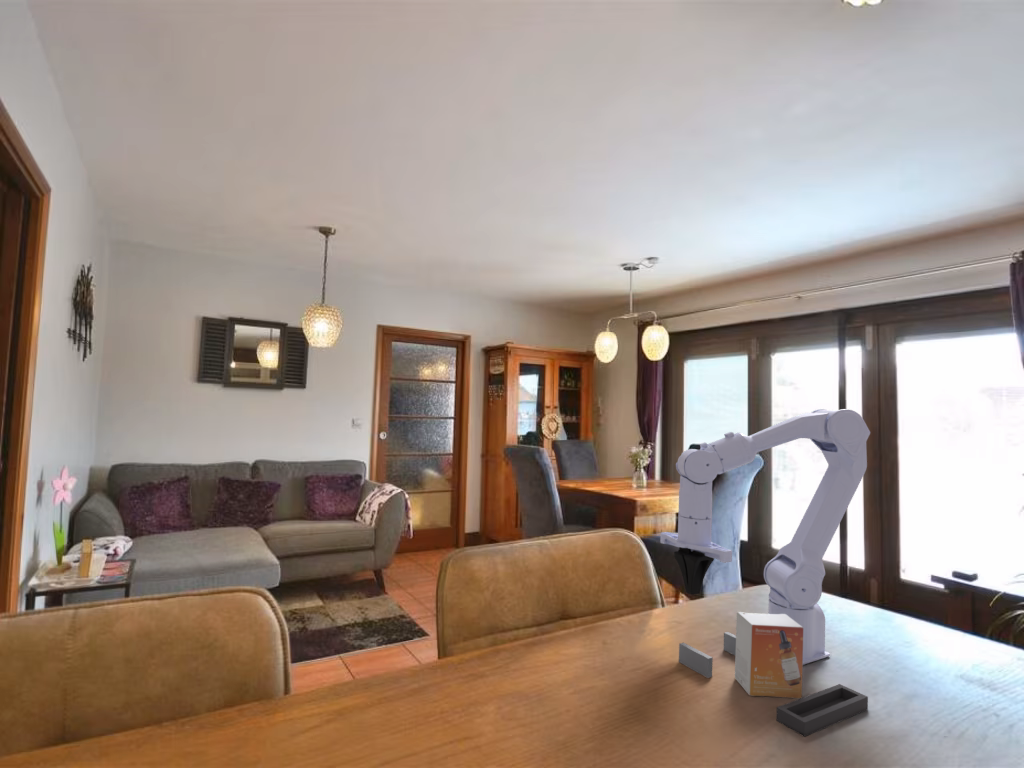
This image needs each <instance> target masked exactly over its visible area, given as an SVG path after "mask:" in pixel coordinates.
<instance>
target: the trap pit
mask: <svg viewBox="0 0 1024 768" xmlns="http://www.w3.org/2000/svg"><path fill="white" fill-rule="evenodd" d="M868 705H869V696H867V695H866V694H863V693H860V692H858V691H856V690H854V689H852V688H849V687H847V686H845V685H842V684H840V683H839V684H836V685H833V686H831V687H828V688H825V689H823V690H820V691H817V692H815V693H812V694H809V695H807V696H803V697H802V698H800V699H795V700H793V701H790V702H788V703H785V704H782V705H779V706H776V718H775V719H776V722H778V723H779V724H782V725H783V726H785V727H787V728H788V729H790V730H792V731H794V732H795V733H797V734H799V735H800V736H801V737H807V736H809V735H812V734H814V733H816V732H819V731H821V730H823V729H826V728H828V727H831V726H832V725H835V724H837V723H840V722H842V721H844V720H847V719H848V718H849V719H850V718H851V717H854V716H856V715H860V713H861V714H862V713H863V712H866V711H867V710H869V708H868V707H869V706H868Z"/></svg>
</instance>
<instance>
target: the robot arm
mask: <svg viewBox="0 0 1024 768" xmlns="http://www.w3.org/2000/svg"><path fill="white" fill-rule="evenodd" d="M870 435H871V431H870V429H869V427H868V425H867V423H866V421H865V420H864V418H863V416H861V414H859V413H858V412H857V411H855V410H852V409H850V408H849V409H847V408H842V409H832V410H831V409H824V408H823V409H821V408H820V409H815V410H813V411H811V412H805V413H800V414H798V415H794V416H792V417H790V418H788V419H785V420H782V421H780V422H778V423H776V424H774V425H771V426H769V427H767V428H764V429H761V430H759V431H757V432H756V433H753V434H750V435H746V434H744V433H742V432H735V433H734V432H732V431H729V432H725V433H724V437H723V438H720V439H717V440H714V441H712V442H710V443H707V442H702V443H700V444H699V446H700V449H695V448H690V449H686V450H684V451H683V452H681V455H680V456H678V459H677V462H676V463H675V469H676V471H677V473H678V474H679V475H680V476H679V490H678V514H677V515H678V519H677V521H678V523H677V533H674V532H673V533H672V532H669V531H665V532H664V531H663V532H660V540H659V543H660V544H664V545H670V546H674V547H675V548H678V550H677V551H673V557H674V559H675V560H676V562H677V565H678V567H679V568H680V572H681V576H682V579H683V583H684V587H685V593H687V594H689V595H692V596H693V595H697V594H700V593H701V588H702V585H703V581H704V579H705V576H706V574H707V571H708V570H709V568H710V567H711V565H712V563H713V562H714V561H715V560H717V561H719V562H720V563H723V564H726V563H732V562H733V550H732V549H728V548H726V547H725V546H724V547H723V546H721V545H719V544H717V543H715V542H713V541H712V523H713V521H712V520H713V519H712V518H713V511H712V510H713V481H714V480H715V479H716V478H717V476H718V475H723V474H724V473H727V472H729V471H733V470H735V469H738V468H741V467H743V466H745V465H747V464H750V463H753V462H754V460H755V458H756V457H757V454H758V453H759V452H762V451H765V450H769V449H771V448H775V447H778V446H781V445H783V444H786V443H789V442H793V441H797V440H798V439H809V440H810V441H811V442H812V443H813V444H814V445H815V446H816V447H817V448H818V449H819V451H821V453H822V455H823V457H824V459H825V460H826V462H827V464H828V466H827V468H826V471H824V472H825V473H824V475H823V476H822V478H821V480H820V483H819V485H818V486H817V489H816V490H815V492H814V494H813V497H812V499H811V501H810V502H809V504H808V507H807V509H806V511H805V513H804V515H803V516H802V519H801V520H800V522H799V524H798V527H797V529H796V530H795V533H794V534H793V537H792V539H791V541H790V542H789V543H787V544H786V545H783V546H782V547H780V548H779V550H778V552H777V554H776V555H775V556H774V557H773V558H772V559H770V560H768V561H767V563H766V564H765V565H764V569H763V579H764V581H765V583H766V585H767V586H768V587H769V594H768V609H767V610H768V611H767V612H768V613H767V614H786V615H787V616H789V617H790V618H791V619H793V620H794V621H795V622H797V623H798V624H799V625H801V626H802V627H803V666H804V665H806V664H809V663H812V662H816V661H819V660H822V659H826V658H828V657H830V656H831V653H830V652H828V651H826V616H825V612H824V611H823V609H822V607H821V606H820V605H819V604H818V602H819V601H820V599H821V597H822V593H823V586H822V585H823V581H824V579H825V578H824V577H825V576H826V570H825V565H824V561H823V558H824V556H825V554H826V552H827V550H828V547H829V546H830V543H831V541H832V540H833V538H834V535H835V533H836V531H837V530H838V528H839V525H840V523H841V521H842V520H843V517H844V515H845V513H846V511H847V510H848V507H849V505H850V504H851V501H852V500H853V498H854V496H855V493H856V491H857V489H858V487H859V486H860V483H861V481H862V479H863V477H864V475H865V473H866V471H867V467H868V462H867V461H868V456H867V455H868V454H867V452H868V451H867V441H868V439H869V437H870Z"/></svg>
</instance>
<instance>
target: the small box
mask: <svg viewBox="0 0 1024 768" xmlns="http://www.w3.org/2000/svg"><path fill="white" fill-rule="evenodd" d="M735 621H736V623H735V624H736V626H735V635H736V655H734V656H735V659H734V661H735V663H734V679H736V681H737V682H738V683H739V685H740V686H741V687H742V688H743V689H744V690H745V692H746V693H747V695H748V696H752V697H753V696H756V697H757V696H760V697H773V698H774V697H777V698H785V699H786V698H788V699H795V700H798V699H800V698H803V697H802V696H803V669H804V668H803V666H804V665H803V627H802V626H801V625H799V624H798V623H797V622H795V621H794V620H793V619H791V618H790V617H789V616H787V615H786V614H768V613H755V612H743V611H736V620H735Z"/></svg>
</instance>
